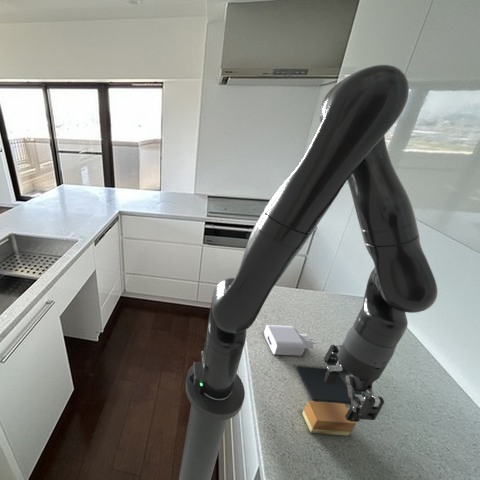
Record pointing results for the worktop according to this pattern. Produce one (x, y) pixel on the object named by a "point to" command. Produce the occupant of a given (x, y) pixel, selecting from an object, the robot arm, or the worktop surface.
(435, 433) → the worktop surface
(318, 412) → the brush
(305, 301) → the worktop surface
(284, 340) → the charger
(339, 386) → the mat
